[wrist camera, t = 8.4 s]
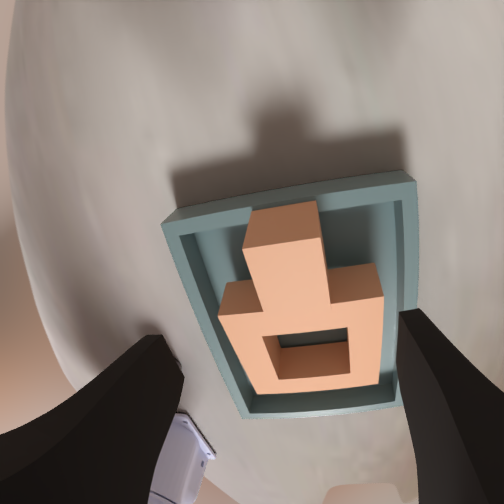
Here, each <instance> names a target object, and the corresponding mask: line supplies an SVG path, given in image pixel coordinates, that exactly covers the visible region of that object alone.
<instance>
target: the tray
mask: <svg viewBox="0 0 504 504" xmlns="http://www.w3.org/2000/svg"><path fill="white" fill-rule="evenodd" d="M315 200H316V202H317V208H318V213H319V219H320V225H321V231H322V237H323V243H324V249H325V256H326V262H327V269H334V268H341V267H348V266H355V265H362V264H368V263H375V265H376V269H377V272H378V276H379V279H380V283H381V287H382V290H383V294H384V313H383V333H382V348H381V361H380V371H379V381H378V384H373V385H366V386H358V387H350V388H342V389H333V390H322V391H311V392H297V393H280V394H257V393H256V391H255V389H254V387H253V385H252V383H251V381H250V379H249V378H248V376H247V374H246V372H245V370H244V368H243V366H242V364H241V362H240V360H239V358H238V356H237V354H236V352H235V350H234V348H233V346H232V344H231V342H230V340H229V338H228V336H227V334H226V332H225V330H224V328H223V326H222V324H221V322H220V320H219V318H218V312H219V308H220V305H221V301H222V297H223V293H224V290H225V286H226V282H234V281H243V280H251V279H252V277H251V274H250V271H249V268H248V265H247V262H246V259H245V256H244V254H243V251H242V247H243V243H244V239H245V235H246V231H247V227H248V223H249V219H250V215H251V211H255V210H261V209H267V208H273V207H279V206H284V205H290V204H297V203H303V202H309V201H315ZM161 227H162V230H163V233H164V235H165V238H166V241H167V244H168V246H169V249H170V252H171V254H172V257H173V260H174V262H175V265H176V268H177V270H178V273H179V276H180V278H181V281H182V283H183V286H184V288H185V291H186V293H187V296H188V298H189V301H190V303H191V306H192V308H193V311H194V313H195V316H196V318H197V320H198V323H199V325H200V327H201V330H202V332H203V335H204V337H205V339H206V342H207V344H208V346H209V348H210V351H211V353H212V355H213V357H214V360H215V362H216V364H217V366H218V369H219V371H220V373H221V375H222V377H223V380H224V382H225V384H226V386H227V388H228V390H229V392H230V395H231V397H232V399H233V401H234V403H235V405H236V407H237V409H238V411H239V413H240V415H241V417H242V419H281V418H303V417H318V416H330V415H340V414H350V413H358V412H366V411H373V410H380V409H386V408H392V407H398V406H403V401H402V397H401V393H400V387H399V381H398V374H397V367H396V351H397V337H398V316H399V312H400V311H406V310H411V309H417V298H418V276H419V219H418V197H417V182H416V180H414V179H413V178H412V177H411V176H409V175H408V174H407V173H406V172H405V171H403V170H398V171H390V172H382V173H375V174H367V175H360V176H353V177H346V178H340V179H333V180H327V181H320V182H314V183H308V184H302V185H296V186H290V187H284V188H279V189H273V190H267V191H262V192H257V193H251V194H246V195H241V196H236V197H231V198H226V199H221V200H216V201H211V202H206V203H202V204H197V205H192V206H188V207H183V208H178V209H176V210H175V211H174V212H173V213H172V214H171V215H170V216H169V217H168V218H166V219H165V220H164V221H163V222H162V223H161ZM277 337H278V340H279V343H280V346H281V348H290V347H301V346H311V345H320V344H329V343H337V342H345V341H347V327H345V328H338V329H330V330H321V331H312V332H303V333H293V334H283V335H277Z"/></svg>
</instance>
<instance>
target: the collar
mask: <svg viewBox="0 0 504 504" xmlns="http://www.w3.org/2000/svg"><path fill="white" fill-rule="evenodd" d="M242 251H243V254H244V256H245V259H246V262H247V265H248V268H249V271H250V274H251V277H252V279H251V280H243V281H234V282H226V286H225V290H224V293H223V297H222V301H221V305H220V308H219V312H218V318H219V320H220V322H221V324H222V326H223V328H224V330H225V332H226V334H227V336H228V338H229V340H230V342H231V344H232V346H233V348H234V350H235V352H236V354H237V356H238V358H239V360H240V362H241V364H242V366H243V368H244V370H245V372H246V374H247V376H248V378H249V379H250V381H251V383H252V385H253V387H254V389H255V391H256V393H257V394H280V393H297V392H311V391H322V390H333V389H342V388H350V387H358V386H366V385H373V384H378V381H379V371H380V361H381V348H382V333H383V313H384V294H383V290H382V287H381V283H380V279H379V276H378V272H377V269H376V265H375V263H368V264H362V265H355V266H348V267H341V268H334V269H327V262H326V256H325V249H324V243H323V237H322V231H321V225H320V219H319V213H318V208H317V202H316V200H315V201H309V202H303V203H297V204H290V205H284V206H279V207H273V208H267V209H261V210H255V211H251V215H250V219H249V223H248V227H247V231H246V235H245V239H244V243H243V247H242ZM345 327H347V341H345V342H337V343H329V344H320V345H311V346H301V347H290V348H281V346H280V343H279V340H278V337H277V335H283V334H293V333H303V332H312V331H321V330H330V329H338V328H345Z"/></svg>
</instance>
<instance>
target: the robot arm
mask: <svg viewBox="0 0 504 504" xmlns="http://www.w3.org/2000/svg"><path fill="white" fill-rule="evenodd" d="M396 367H397V374H398V381H399V387H400V393H401V397H402V401H403V405H404V409H405V413H406V417H407V421H408V425H409V429H410V434H411V438H412V443H413V447H414V452H415V458H416V464H417V475H418V493H419V504H504V392H502V391H501V390H500V389H499V388H498V387H497V386H495V385H494V384H493V383H492V382H491V381H490V380H489V379H488V378H486V377H485V376H484V375H483V374H482V373H481V372H480V371H479V370H478V369H477V368H476V367H475V366H474V365H473V364H472V363H471V362H470V361H469V360H468V359H467V358H466V357H465V356H464V355H463V354H462V353H461V352H460V351H459V350H458V349H457V348H456V347H455V346H454V345H453V344H452V343H451V342H450V341H449V340H448V339H447V338H446V336H445V335H444V334H443V333H442V332H441V331H440V330H439V329H438V328H437V327H436V326H435V325H434V323H433V322H432V321H431V320H430V319H429V318H428V317H427V316H426V315H425V313H424V312H423V311H422V310H420V309H419V308H417V309H411V310H406V311H400V312H399V316H398V337H397V351H396ZM184 378H185V377H184V375H183V373H182V371H181V370H180V368H179V366H178V364H177V362H176V360H175V359H174V357H173V355H172V353H171V351H170V349H169V347H168V345H167V343H166V341H165V339H164V337H163V335H146V336H145V337H143V338H142V339H141V340H139V341H138V342H137V343H136V344H134V345H133V346H132V347H131V348H130V349H128V350H127V351H126V352H125V353H124V354H122V355H121V356H120V357H119V358H118V359H117V360H115V361H114V362H113V363H112V364H111V365H110V366H108V367H107V368H106V369H105V370H104V371H103V372H101V373H100V374H99V375H98V376H97V377H95V378H94V379H93V380H92V381H90V382H89V383H88V384H87V385H85V386H84V387H83V388H82V389H80V390H79V391H78V392H77V393H75V394H74V395H73V396H71V397H70V398H68V399H67V400H66V401H64V402H63V403H61V404H60V405H58V406H57V407H55V408H54V409H52V410H50V411H49V412H47V413H45V414H43V415H42V416H40V417H38V418H36V419H34V420H32V421H31V422H29V423H27V424H25V425H23V426H21V427H18V428H16V429H14V430H11V431H9V432H6V433H3V434H1V435H0V504H193V503H194V502H195V500H196V498H197V496H198V492H199V489H200V486H201V482H202V479H203V475H204V472H205V469H206V465H207V462H208V459H216V455H215V453H214V452H213V451H212V449H211V448H210V447H209V445H208V444H207V442H206V441H205V440H204V438H203V437H202V435H201V434H200V433H199V431H198V430H197V428H196V427H195V425H194V424H193V422H192V421H191V420H190V418H189V417H188V416H187V415H185V414H179V413H176V410H177V407H178V404H179V401H180V397H181V392H182V388H183V383H184Z"/></svg>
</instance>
